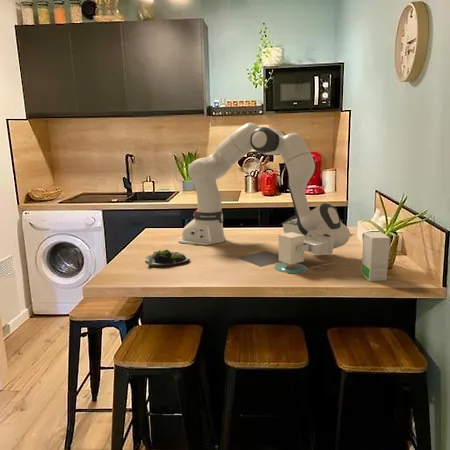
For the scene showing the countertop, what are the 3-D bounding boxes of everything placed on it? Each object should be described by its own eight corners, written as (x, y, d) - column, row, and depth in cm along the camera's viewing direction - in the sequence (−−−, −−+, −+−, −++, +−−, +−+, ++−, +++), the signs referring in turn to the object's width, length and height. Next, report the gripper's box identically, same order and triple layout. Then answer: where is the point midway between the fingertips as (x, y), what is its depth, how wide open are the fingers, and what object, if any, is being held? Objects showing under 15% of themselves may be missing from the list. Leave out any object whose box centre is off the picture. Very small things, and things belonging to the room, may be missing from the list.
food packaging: (343, 218, 231) (328, 227, 212) (343, 233, 232) (328, 243, 213) (295, 214, 243) (277, 222, 224) (295, 228, 245) (277, 237, 226)
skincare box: (360, 274, 169) (362, 231, 166) (378, 273, 170) (380, 231, 166) (369, 281, 161) (371, 237, 158) (388, 280, 162) (390, 236, 158)
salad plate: (136, 258, 196) (136, 247, 195) (177, 252, 204) (176, 242, 203) (150, 271, 179) (149, 259, 178) (194, 264, 187) (193, 252, 186)
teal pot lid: (273, 273, 172) (273, 263, 172) (275, 263, 184) (275, 254, 183) (306, 274, 170) (306, 264, 169) (307, 264, 182) (307, 255, 181)
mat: (260, 267, 179) (260, 266, 179) (236, 258, 192) (236, 257, 192) (292, 260, 188) (292, 259, 188) (266, 251, 201) (266, 250, 201)
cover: (290, 264, 172) (290, 237, 170) (278, 260, 177) (278, 234, 175) (303, 261, 176) (304, 235, 173) (291, 257, 181) (291, 231, 179)
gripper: (297, 228, 190) (271, 233, 182) (336, 237, 173) (308, 243, 166) (297, 243, 191) (271, 249, 184) (335, 254, 175) (308, 260, 167)
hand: (289, 246), depth 175 cm, fingers closed on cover, 7 cm apart
